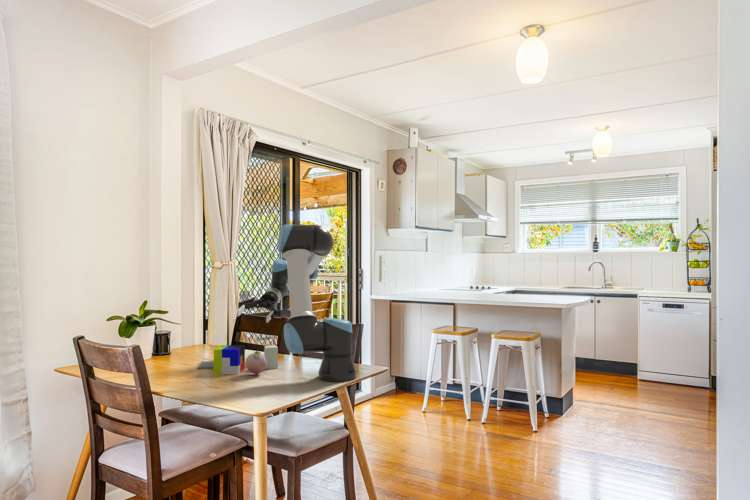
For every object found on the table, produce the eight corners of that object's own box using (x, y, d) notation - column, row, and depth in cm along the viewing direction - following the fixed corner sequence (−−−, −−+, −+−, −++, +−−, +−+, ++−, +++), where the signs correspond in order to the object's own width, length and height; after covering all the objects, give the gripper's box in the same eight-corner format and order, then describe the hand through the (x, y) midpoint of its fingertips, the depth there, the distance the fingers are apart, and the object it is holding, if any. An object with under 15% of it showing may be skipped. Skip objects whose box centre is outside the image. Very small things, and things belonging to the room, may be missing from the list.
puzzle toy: (237, 374, 208) (238, 349, 208) (213, 374, 208) (213, 349, 208) (244, 368, 218) (244, 345, 218) (221, 368, 218) (221, 345, 218)
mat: (229, 367, 219) (229, 366, 219) (197, 369, 217) (197, 367, 217) (231, 361, 232) (231, 360, 232) (201, 362, 229) (201, 361, 229)
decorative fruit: (244, 373, 210) (244, 348, 210) (265, 371, 212) (265, 347, 212) (246, 378, 201) (246, 352, 201) (267, 376, 203) (267, 351, 203)
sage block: (277, 368, 219) (277, 347, 219) (266, 369, 217) (266, 348, 217) (275, 365, 223) (275, 345, 224) (264, 366, 222) (264, 346, 222)
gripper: (295, 310, 241) (278, 330, 221) (245, 300, 244) (225, 318, 224) (296, 296, 238) (280, 314, 218) (246, 286, 242) (225, 303, 222)
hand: (252, 316), depth 221 cm, fingers open, 13 cm apart
